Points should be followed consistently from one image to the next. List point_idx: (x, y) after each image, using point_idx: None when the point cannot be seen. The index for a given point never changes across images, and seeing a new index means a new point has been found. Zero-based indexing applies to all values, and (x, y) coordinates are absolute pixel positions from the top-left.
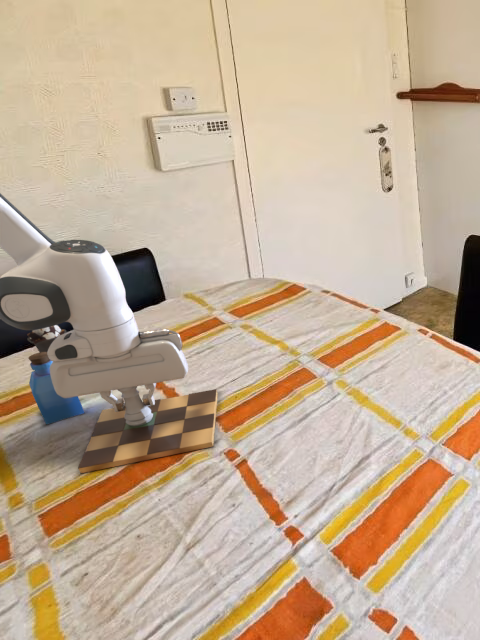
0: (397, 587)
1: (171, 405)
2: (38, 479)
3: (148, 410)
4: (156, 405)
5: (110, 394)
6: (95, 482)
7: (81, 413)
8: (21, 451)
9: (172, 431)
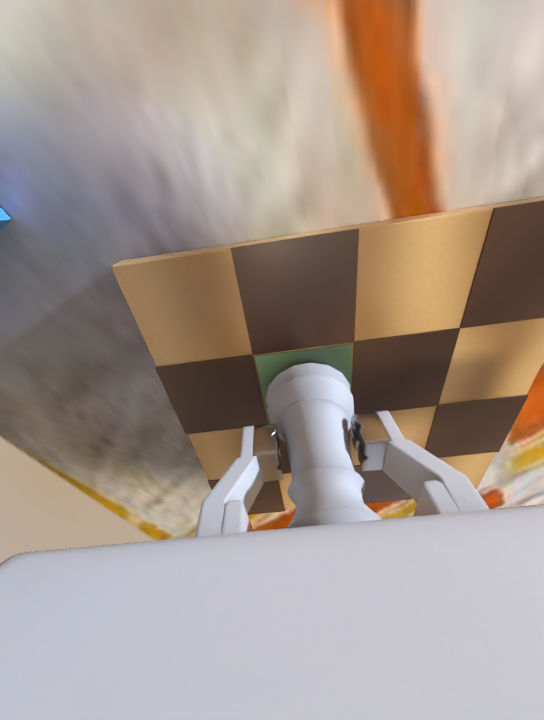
0: None
1: (404, 304)
2: (153, 503)
3: (351, 418)
4: (346, 293)
5: (252, 530)
6: (264, 520)
7: (1, 225)
8: (13, 423)
9: None
